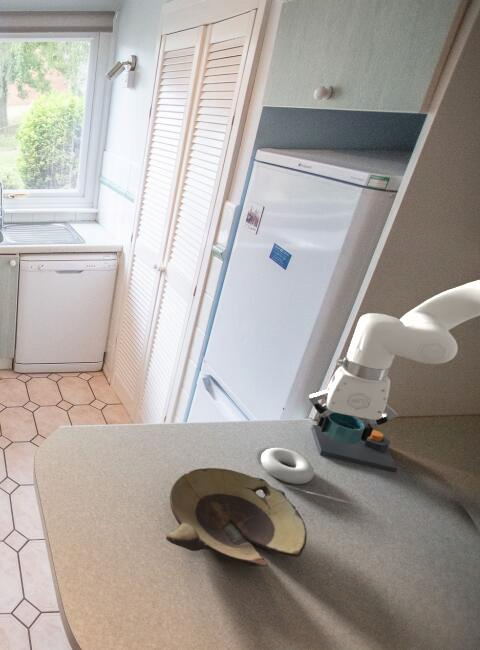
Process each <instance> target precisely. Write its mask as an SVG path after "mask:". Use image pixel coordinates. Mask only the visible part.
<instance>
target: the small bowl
mask: <svg viewBox="0 0 480 650" xmlns="http://www.w3.org/2000/svg"><path fill="white" fill-rule="evenodd" d="M328 418H329V421H328V424H327V427H326V429H325V432H324V433H325V434H326V435H327V436H328V437H329V438H331V439H333V440H334V441H337V442H339V443H343V444H357V443H359V442H360V440H361V437H362V435H363V432H364V430H365V427H366V426H365V424H364V423H363V421H362V420H361V418H359V417H355V416H350V415H345V414H340V413H336V412H333V413H331V414H330V415H328Z"/></svg>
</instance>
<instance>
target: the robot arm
mask: <svg viewBox="0 0 480 650" xmlns="http://www.w3.org/2000/svg"><path fill="white" fill-rule="evenodd" d="M477 317H480V279H477V280H475V281H471V282H467V283H464V284H463V285H459V286H457V287H454V288H450V289H447V290H445V291H442V292H441V293H439V294H437V295H434V296H433V297H431V298H428V299H426V300H425V301H424V302H422V303H421V304H419V305H417V306H416V307H414V308H413V309H411V310H409V311H408V312H406V313H405V314H404V315H403V316H402V317H400V319H399V318H397V317H395V316H392V315H389V314H383V313H375V312H372V313H364V314H363V315H361V316H360V318H359V320H358V321H357V324H356V326H355V330H354V333H353V336H352V339H351V342H350V343H349V344H350V345H349V347H348V350H347V354H346V355H345V356H344V357H343V358H337V359H336V362H335V364H336V365H338V366H339V367H337V369H336V370H335V372H334V374H333V375H332V377H331V379H330V381H329V383H328V385H327V387H326V389H325V390H322V391H319V392H316V393H312V394H309V395H308V399H309V401H310V403H311V404H312V406H313V407H314V409H315V410H316V411H317V412H318V417H317V420H316V425H317V426H319V428H320V431H321V432H325V429H326V427H327V424H328V421H329V418H328V415H330V414H331V413H333V412H336V413H340V414H345V415H350V416H354V417H356V418H359V419H364V420H363V421H362V422H363V423H364V424H365V426H366V427H365V430H364V432H363V435H362V437H361V440H362V441H366V440H367V438H368V437H370V436H371V433H372V431H373V430H374V429H376V428H378V426H380V425H383V424H386V423H388V422H389V421H391V420H393V419H396V418H398V414H397V412H396V411H395V410H394V409H393V408H392V407H391V405H390V406H389V404H388V403H387V402H388V398H389V395H390V388H391V379H390V378H389V376H388V373H389V371H390V369H391V367H392V363H393V361H394V358H395V356H398V357H402V358H405V359H408V360H411V361H414V362H418V363H421V364H427V365H441V364H445V363H447V362H449V361H450V362H451V360H453V359H454V358H455V357H456V355H457V354H458V351H459V350H458V349H459V348H458V347H459V346H458V343H457V340H456V338H454V336H453V335H452V334H451V333H450V330H452V329H453V328H455V327H457V326H459V325H461V324H462V323H465V322H466V321H469V320H471V319H474V318H477ZM321 400H323V401H324V404H321V403H320V402H319V401H321Z"/></svg>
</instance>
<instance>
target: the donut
mask: <svg viewBox="0 0 480 650" xmlns="http://www.w3.org/2000/svg"><path fill="white" fill-rule="evenodd" d="M260 462H261V465H262V467H263V469H264V470H265V471H266V472H267V473H268V474H270V475H271V476H272V477H274V478H276V479H278V480H279V481H283V482H285V483H287V484H288V483H289V484H293V485H303V484H306V483H309V482H310V481H311V480H312V479H313V478H314V473H315V470H314V467H313V466H312V464H311V462H310V461H309V460H308V459H307V458H305V456H303V455H301V454H300V453H297V452H295V451H294V450H291V449H288V448H283V447H271V448H267V449H265V450H264V451H263V452H262V453H261V456H260Z"/></svg>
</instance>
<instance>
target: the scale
mask: <svg viewBox="0 0 480 650" xmlns="http://www.w3.org/2000/svg"><path fill="white" fill-rule="evenodd" d="M310 430H311V432H312V435H313V436H312V437H313V438H314V441H315V445H316V448H317V452H318V454H319V456H322V457H326V458H331V459H335V460H339V461H343V462H347V463H351V464H355V465H360V466H363V467H368V468H372V469H377V470H381V471H385V472H390V473H394V474H396V473H397V471H398V469H399V468H398V466H397V464H396V462H395V461H394V459H393V457H392V455H391V453H390V451H389V449H388V448H389V447H390V444H391V441H390V439H389V438H388V437H386V436H385V435H384V434H383V438H382V440H381V442H378V441H374V440H371V439H369V438H367V440H366V441H362V440H360V442H359V443H357V444H343V443H339V442H337V441H334V440H333V439H331V438H329V437H328V436H327V435H326V434H325V433H324V432H321V431H320V428H319V426H317V424H312V425H311V429H310Z"/></svg>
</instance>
